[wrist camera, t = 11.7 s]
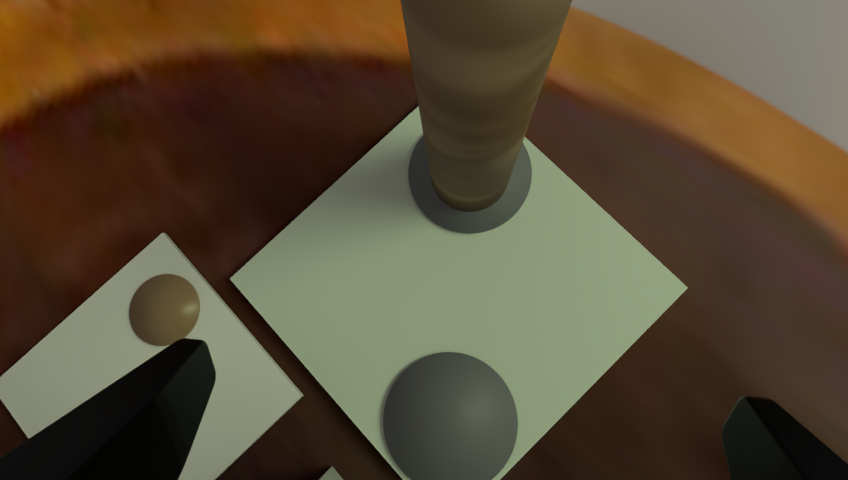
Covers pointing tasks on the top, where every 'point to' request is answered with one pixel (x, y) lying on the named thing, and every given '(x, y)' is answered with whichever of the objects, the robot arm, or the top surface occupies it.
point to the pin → (478, 87)
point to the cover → (331, 475)
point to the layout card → (142, 339)
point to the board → (455, 306)
